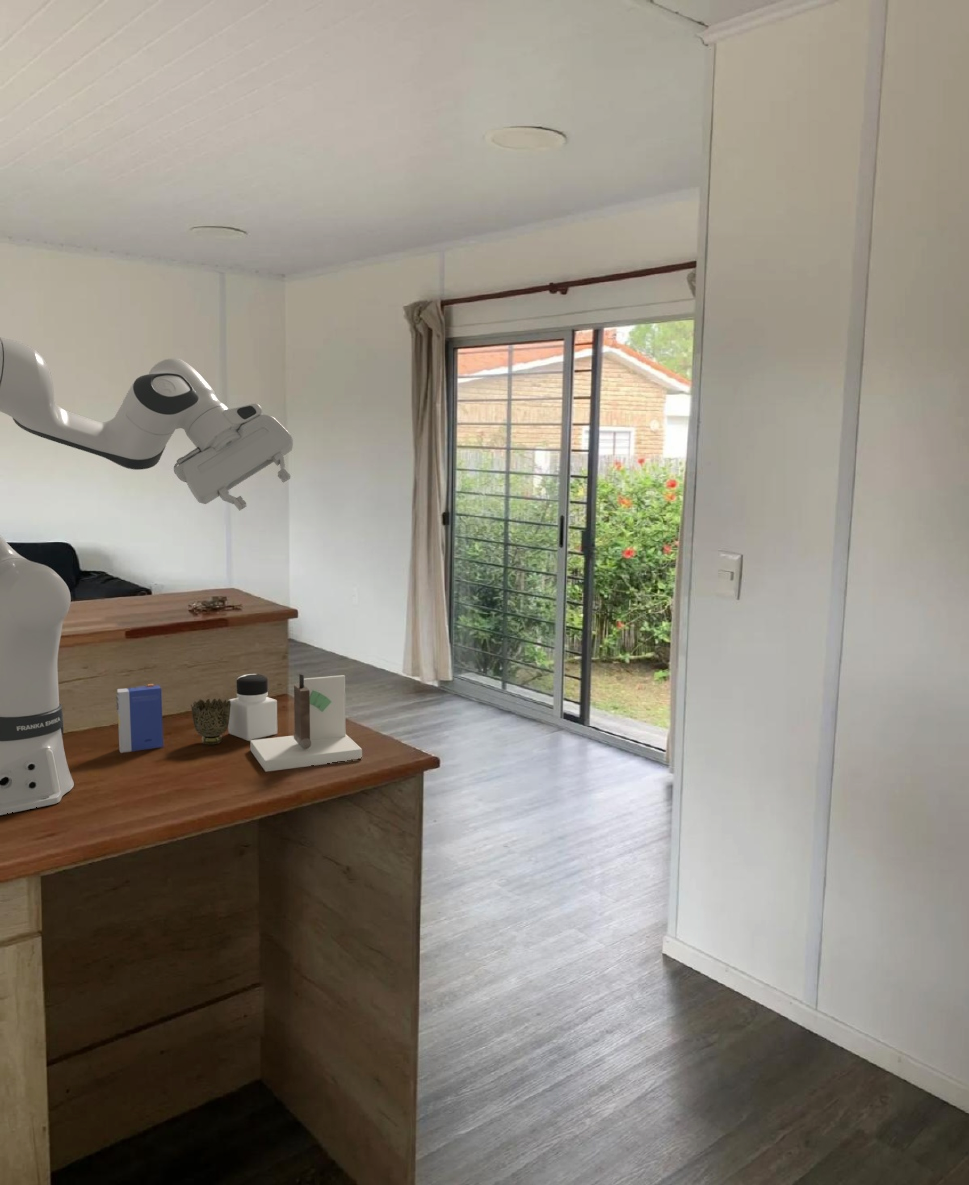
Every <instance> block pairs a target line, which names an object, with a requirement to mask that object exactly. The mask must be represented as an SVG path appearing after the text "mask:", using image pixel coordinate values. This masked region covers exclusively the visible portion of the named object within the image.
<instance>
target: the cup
mask: <svg viewBox="0 0 969 1185" xmlns="http://www.w3.org/2000/svg"><path fill="white" fill-rule="evenodd" d="M228 700H229V699H228ZM228 700H227V699H224V700H223V701H222V700H221V698H218V699H217V698H213V699H212V701H211V700H210V698H208V699H206V701H204V699H203V700H202V699H198V700H197V701H194V700H193V704H190V708H191V714H192V721H193V725H194V726H193V727H194V730H195V731H196V733H197V734H198V735H200V736H202V737H201V741H202V743H203V744H205V745H217V744H219V743H221V742H222V740H223V739H222V738H223V737H222V735H224V733H225V732H227V730H228V724H229V717H230V706H231V704H230V700H229V701H228Z"/></svg>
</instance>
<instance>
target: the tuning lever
mask: <svg viewBox="0 0 969 1185" xmlns="http://www.w3.org/2000/svg"><path fill="white" fill-rule="evenodd" d="M298 677H299V684H294V685H293V693H294V694H293V697H294V698H293V704H294V707H293V708H294V715H293V716H294V733H293V735H294V739H295V740H296V742H297V743H298V744H299V745H300V746H301V747H302V748H303V749H308V748H309V747H310V746H311V741H310V690H309V689H307V688H306V687H305V686H304V679H305V674H304V673H299V674H298Z"/></svg>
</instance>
